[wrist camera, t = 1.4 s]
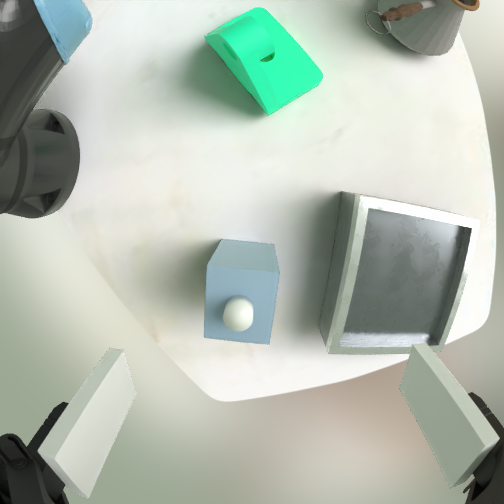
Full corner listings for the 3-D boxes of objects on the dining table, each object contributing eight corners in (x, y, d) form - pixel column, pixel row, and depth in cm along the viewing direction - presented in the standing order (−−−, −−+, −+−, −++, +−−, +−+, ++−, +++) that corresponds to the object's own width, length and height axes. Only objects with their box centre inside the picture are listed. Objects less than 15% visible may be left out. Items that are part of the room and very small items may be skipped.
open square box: (318, 325, 36) (328, 353, 30) (341, 191, 32) (360, 195, 26) (420, 328, 36) (441, 351, 30) (450, 212, 32) (479, 220, 26)
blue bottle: (218, 294, 36) (200, 349, 24) (221, 238, 34) (202, 273, 22) (267, 299, 36) (269, 356, 24) (274, 244, 34) (281, 281, 22)
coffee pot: (401, -14, 23) (447, -65, 9) (455, 44, 25) (518, 12, 11) (299, 42, 27) (321, -30, 13) (365, 113, 29) (432, 79, 15)
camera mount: (321, 84, 29) (345, 52, 19) (267, 117, 30) (271, 93, 20) (260, 15, 27) (260, -33, 17) (208, 45, 28) (189, 3, 18)
